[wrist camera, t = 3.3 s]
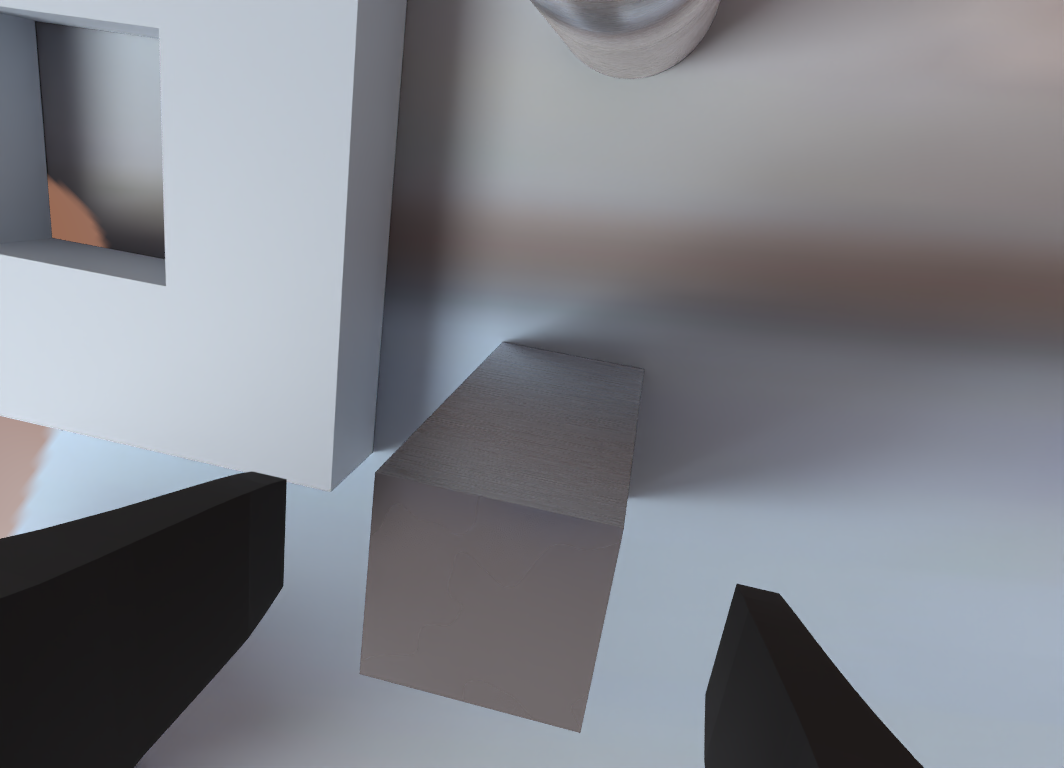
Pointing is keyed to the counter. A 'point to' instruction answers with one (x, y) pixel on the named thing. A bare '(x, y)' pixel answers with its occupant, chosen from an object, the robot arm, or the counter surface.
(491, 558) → the square bit
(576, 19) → the round bit
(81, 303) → the bore block
